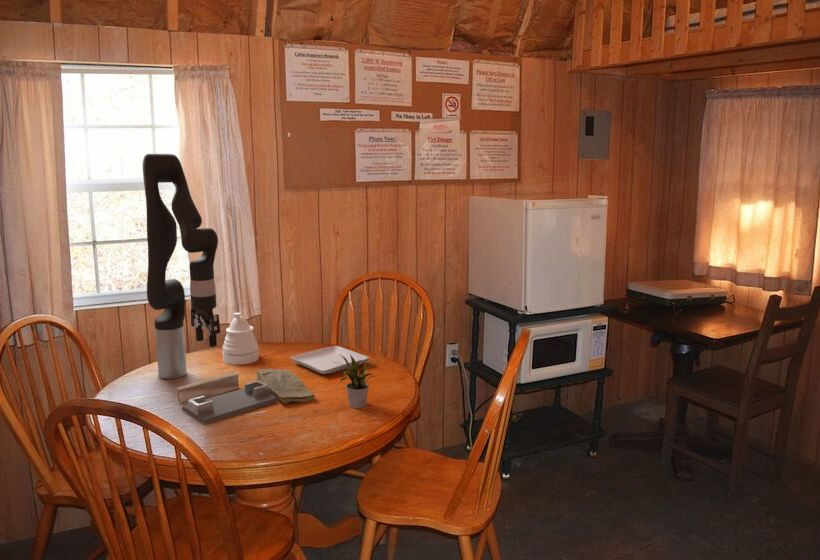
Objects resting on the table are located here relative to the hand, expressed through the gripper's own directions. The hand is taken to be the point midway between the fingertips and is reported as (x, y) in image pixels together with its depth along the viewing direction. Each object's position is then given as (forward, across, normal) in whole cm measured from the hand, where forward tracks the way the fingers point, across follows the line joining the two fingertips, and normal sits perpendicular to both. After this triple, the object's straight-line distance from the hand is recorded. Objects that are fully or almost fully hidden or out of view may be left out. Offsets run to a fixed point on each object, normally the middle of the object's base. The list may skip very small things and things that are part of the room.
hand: (206, 343), depth 208 cm
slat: (+17, 0, 0) cm, 17 cm away
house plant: (+18, -38, -28) cm, 50 cm away
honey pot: (+17, +25, -26) cm, 40 cm away
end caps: (+16, -13, 0) cm, 20 cm away
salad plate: (+18, -3, -46) cm, 49 cm away
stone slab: (+18, -11, -20) cm, 29 cm away
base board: (+17, -13, 0) cm, 21 cm away
